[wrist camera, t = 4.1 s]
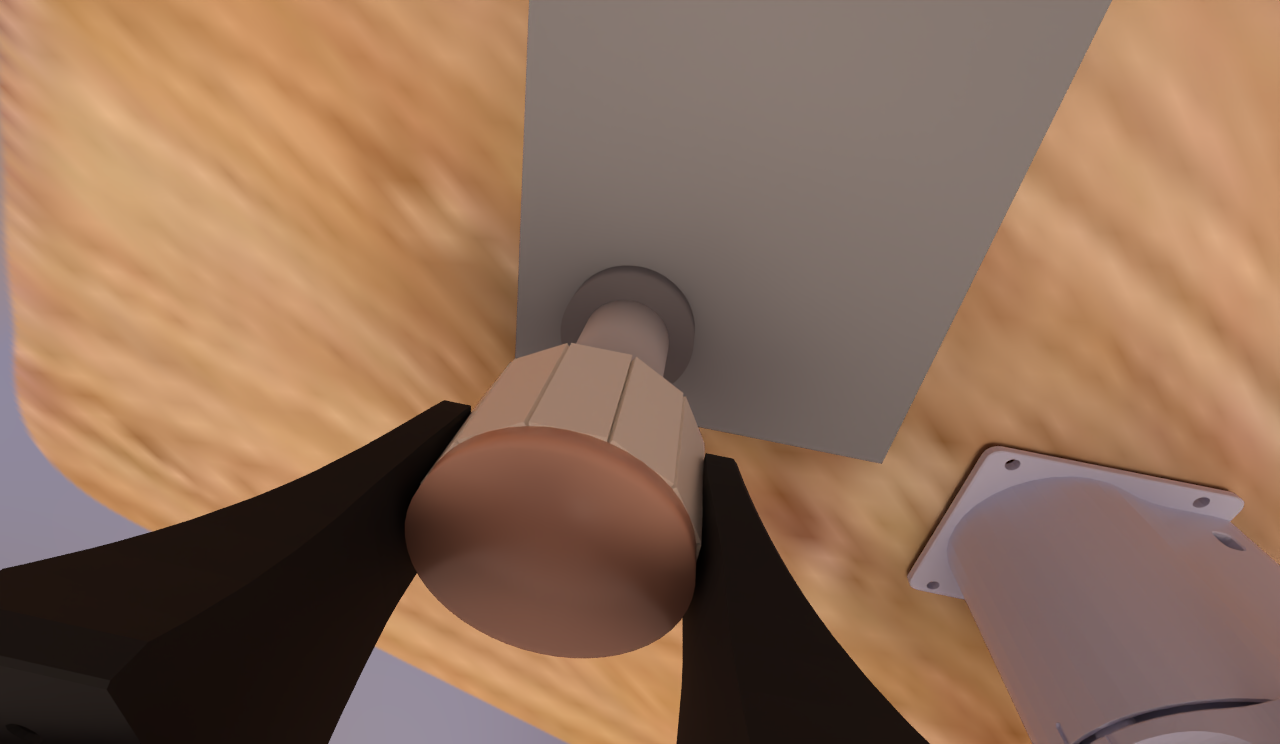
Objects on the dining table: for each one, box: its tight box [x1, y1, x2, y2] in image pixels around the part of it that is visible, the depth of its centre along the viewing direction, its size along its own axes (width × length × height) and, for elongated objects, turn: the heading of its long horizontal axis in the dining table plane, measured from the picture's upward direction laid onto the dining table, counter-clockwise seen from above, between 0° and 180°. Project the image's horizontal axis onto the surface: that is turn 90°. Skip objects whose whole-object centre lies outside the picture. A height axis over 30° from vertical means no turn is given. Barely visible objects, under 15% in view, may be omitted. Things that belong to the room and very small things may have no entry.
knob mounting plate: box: [515, 0, 1112, 464], centre depth 15 cm, size 14×15×6 cm
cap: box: [405, 343, 705, 658], centre depth 11 cm, size 5×5×4 cm
